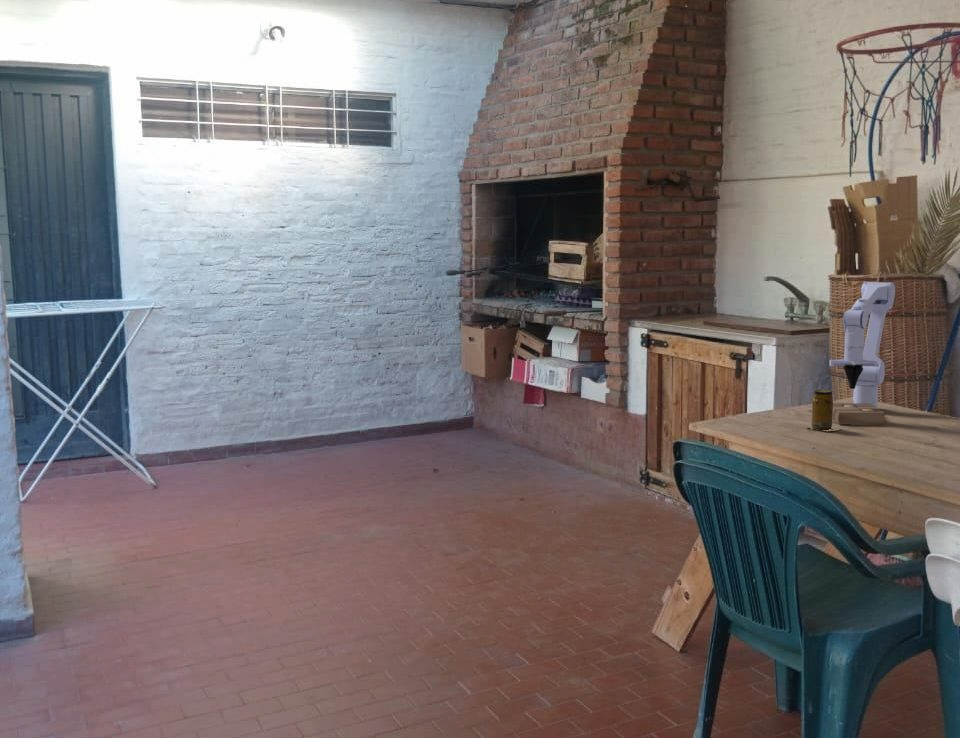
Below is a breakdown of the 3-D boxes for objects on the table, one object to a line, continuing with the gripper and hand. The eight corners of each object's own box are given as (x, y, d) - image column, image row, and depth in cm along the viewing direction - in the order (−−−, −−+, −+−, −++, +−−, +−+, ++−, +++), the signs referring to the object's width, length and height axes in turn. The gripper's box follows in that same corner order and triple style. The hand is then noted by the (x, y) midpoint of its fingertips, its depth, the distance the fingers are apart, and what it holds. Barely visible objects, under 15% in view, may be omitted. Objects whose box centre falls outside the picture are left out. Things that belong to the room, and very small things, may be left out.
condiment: (818, 425, 315) (819, 388, 314) (842, 429, 309) (844, 391, 307) (805, 428, 311) (806, 391, 309) (829, 433, 304) (831, 394, 303)
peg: (841, 416, 328) (842, 404, 328) (853, 416, 328) (853, 404, 327) (844, 419, 325) (845, 406, 324) (856, 419, 324) (856, 407, 324)
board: (826, 414, 332) (827, 402, 331) (870, 415, 330) (870, 403, 330) (838, 424, 316) (838, 412, 316) (884, 425, 315) (884, 412, 314)
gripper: (833, 348, 320) (831, 390, 322) (880, 348, 318) (878, 390, 320) (828, 345, 326) (826, 386, 329) (874, 345, 325) (872, 386, 327)
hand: (852, 388), depth 325 cm, fingers closed
